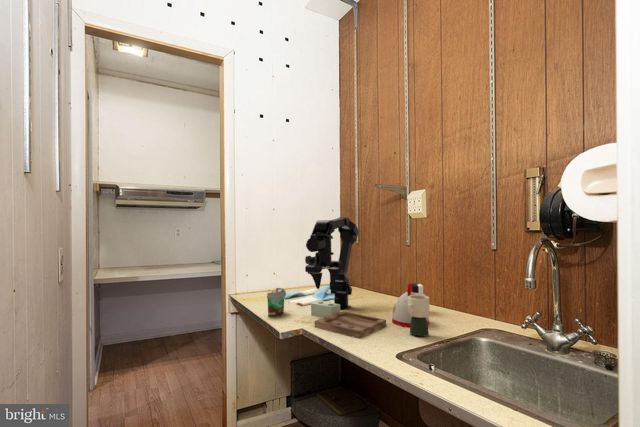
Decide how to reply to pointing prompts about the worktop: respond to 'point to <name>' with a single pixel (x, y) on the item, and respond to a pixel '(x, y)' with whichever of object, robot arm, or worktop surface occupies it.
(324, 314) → the pale green spotted block
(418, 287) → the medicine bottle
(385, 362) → the worktop surface
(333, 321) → the brown recessed board
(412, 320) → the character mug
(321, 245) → the robot arm
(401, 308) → the kitchen timer
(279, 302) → the food container
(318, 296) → the rubber gloves
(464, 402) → the worktop surface
